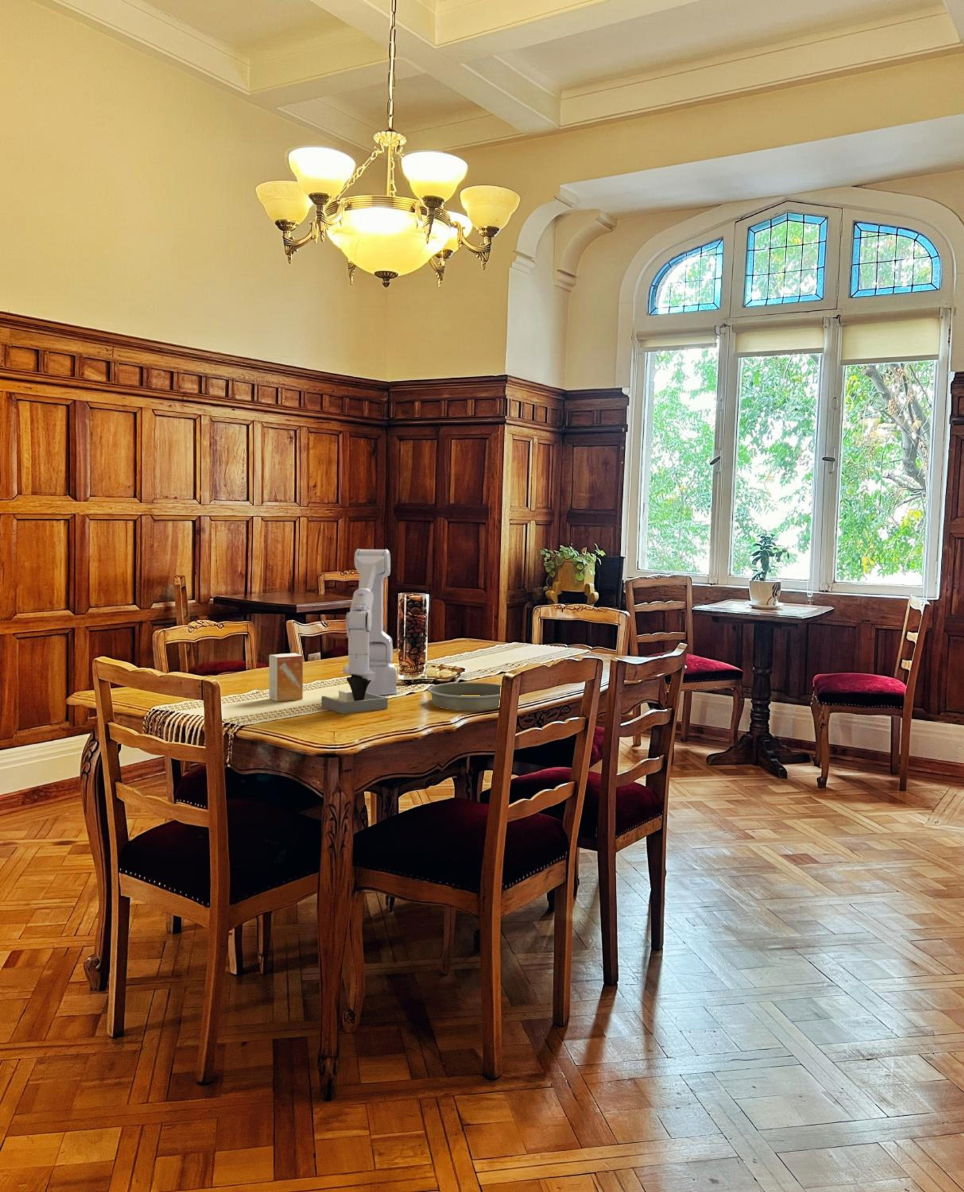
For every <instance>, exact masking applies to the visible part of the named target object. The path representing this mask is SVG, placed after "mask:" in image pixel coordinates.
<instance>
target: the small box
mask: <svg viewBox="0 0 964 1192" xmlns="http://www.w3.org/2000/svg"><path fill="white" fill-rule="evenodd" d="M303 660H304V656H303V655H301V654H299V653H296V652H292V653H278V654H269V655H268V667H269V668H268V670H269V671H268V674H269V675H268V677H269V678H268V679H269V681H268V684H269V685H268V686H269V688H268V691H269V692H268V693H269V695H268V696H269V699H270V700H273V701H275V702H285V701H287V702H288V701H298V700H300V701H301V699H302V700H303V699H304V698H303V697H304V696H303V695H304V693H303V692H304V691H303V688H304V686H303V682H304V681H303V680H304V679H303V678H304V676H303V675H304V674H303V673H304V671H303V670H304V667H303V666H304V664H303V662H304V661H303Z"/></svg>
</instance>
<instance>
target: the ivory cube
mask: <svg viewBox="0 0 964 1192" xmlns="http://www.w3.org/2000/svg"><path fill="white" fill-rule="evenodd" d="M338 700H339V701H342V702H351V701H354V698H353V694H352V690H351V688H348V689H340V690H338Z"/></svg>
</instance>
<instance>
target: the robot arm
mask: <svg viewBox="0 0 964 1192" xmlns="http://www.w3.org/2000/svg"><path fill="white" fill-rule="evenodd" d="M353 561H354V567H355V570H356V572H357V573H358V574H359V577H358V579H359V580H358V589H356V590H355V591H354V592H353V594H352V601H351V605H350V608H349V609H350V611H349V612H348V611H347V612H346V615H345V628H346V637H347V638H348V639H347V640H348V643H347V645H348V647H347V650H348V653H347V654H348V657H347V658H348V659H347V660H348V661H347V662H348V665H347V666H342V674H345V675H350V676H349V677H346V681H347V683H348V686H349V687H350V689H351V690H352V694H353V698H354V701H360V700H364V697H365V693H366V692H369V693H372V694H376V695H379V696H386V695H394V694H396V695H397V694H398V693H399V692H398V691H397V670H396V667H395V665H394V664H393V663H391V662H392V661H393V658H394V647H393V638H392V637H391V636H390V635H389V634H387V633H386V632H385V631H384V581H385V578H387V577H389V576H390V575H391V553H390V550H388V548H385V549H367V548H366V549H361V548H357V549H356V550H355V552H354V560H353Z"/></svg>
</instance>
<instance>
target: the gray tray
mask: <svg viewBox="0 0 964 1192" xmlns="http://www.w3.org/2000/svg"><path fill="white" fill-rule="evenodd" d="M388 703H389V701H388V697H385V696H384V695H376V694H372V693H369V692H366V693H365V697H364V700H360V701H351V702H342V701H339V699H335V698H332V697H329V696H326V695H322V696H321V708H324V709H327V710H330V711H333V712H335V713H338V714H341V715H346V714H354V713H355V714H357V713H362V712H363V713H365V712H373V711H380V710H387V709H389V708H388Z"/></svg>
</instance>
